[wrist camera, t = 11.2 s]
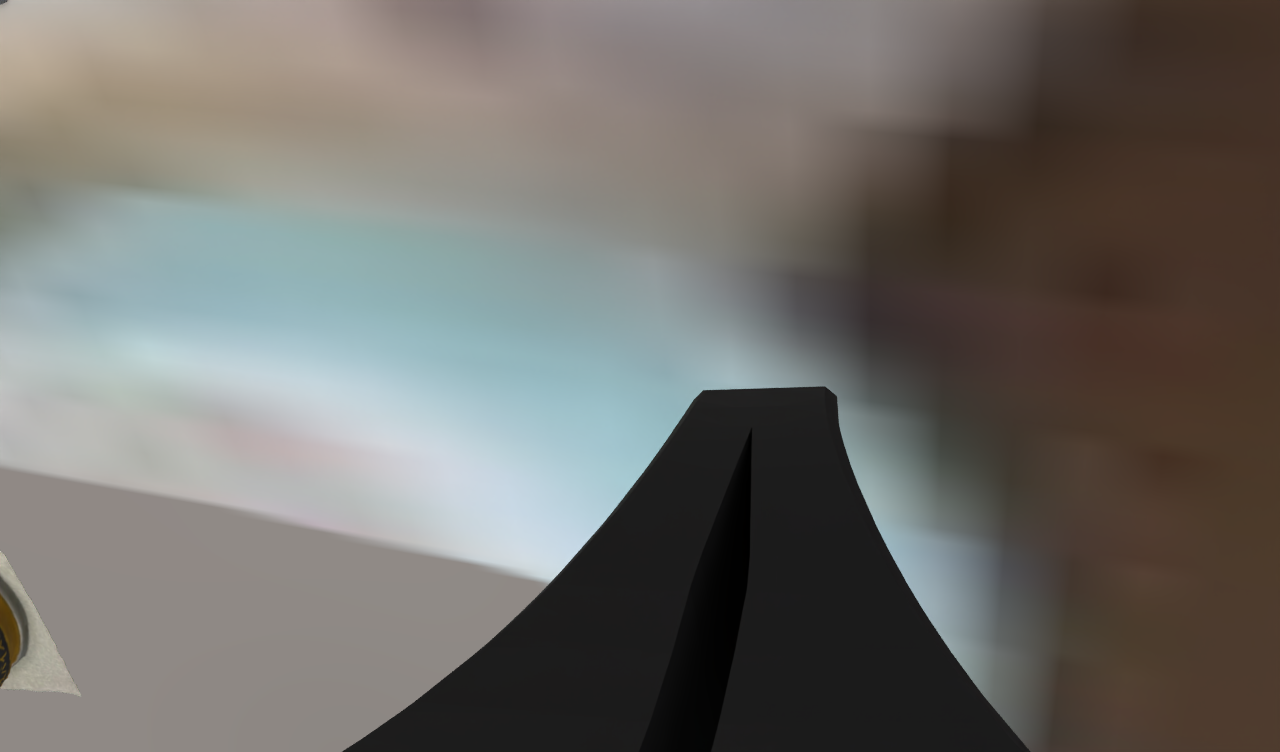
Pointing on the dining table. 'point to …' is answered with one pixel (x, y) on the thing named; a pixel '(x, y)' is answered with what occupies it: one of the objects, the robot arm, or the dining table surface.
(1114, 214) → the dining table surface
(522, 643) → the robot arm
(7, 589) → the condiment
